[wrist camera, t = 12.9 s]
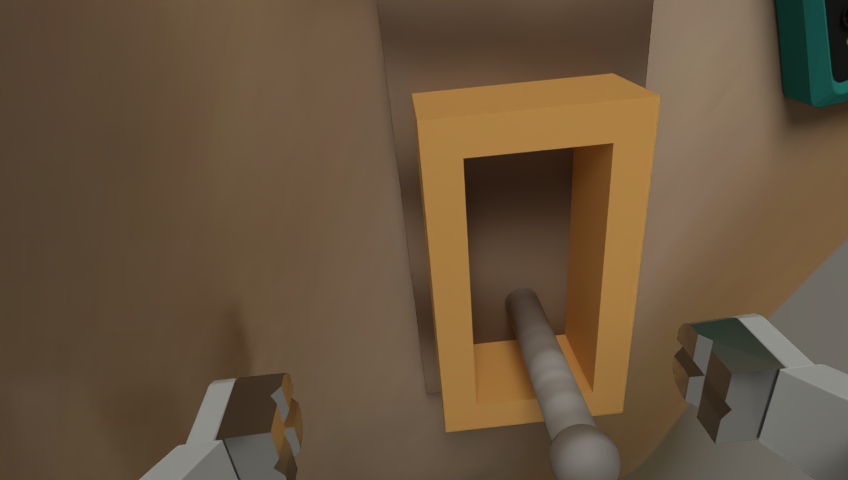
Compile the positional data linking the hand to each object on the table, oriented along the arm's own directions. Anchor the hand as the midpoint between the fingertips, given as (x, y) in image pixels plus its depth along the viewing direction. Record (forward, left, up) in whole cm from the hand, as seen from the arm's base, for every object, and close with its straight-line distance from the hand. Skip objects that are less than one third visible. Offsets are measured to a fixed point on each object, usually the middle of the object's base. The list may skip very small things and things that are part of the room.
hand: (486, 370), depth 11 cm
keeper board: (+1, +3, -14) cm, 14 cm away
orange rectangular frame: (+4, +3, -12) cm, 13 cm away
